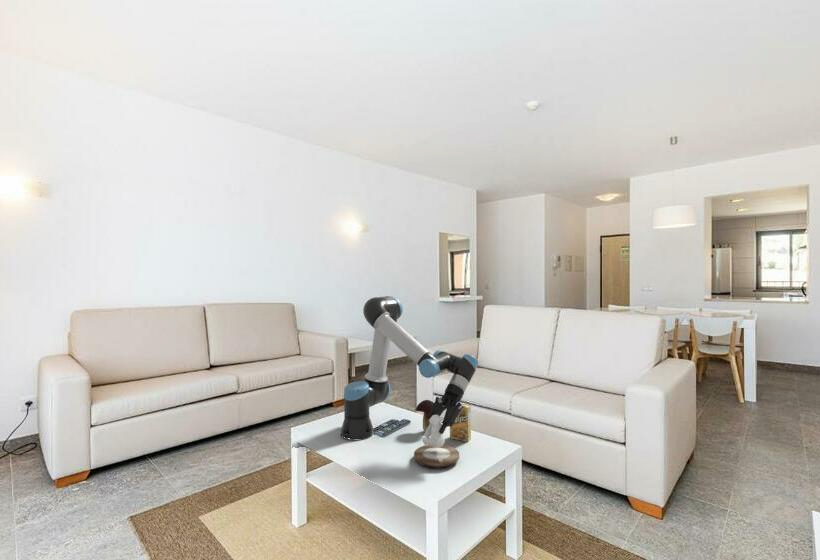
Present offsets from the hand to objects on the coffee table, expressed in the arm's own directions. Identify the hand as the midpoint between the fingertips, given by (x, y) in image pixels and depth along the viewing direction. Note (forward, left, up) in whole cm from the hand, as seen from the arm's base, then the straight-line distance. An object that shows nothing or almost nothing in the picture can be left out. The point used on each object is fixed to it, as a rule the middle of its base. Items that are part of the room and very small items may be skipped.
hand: (430, 438), depth 158 cm
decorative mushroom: (-32, +5, -10) cm, 34 cm away
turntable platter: (-2, +3, -8) cm, 9 cm away
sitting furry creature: (-2, +3, -4) cm, 5 cm away
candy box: (-21, +18, -10) cm, 30 cm away
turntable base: (-2, +3, -10) cm, 10 cm away
